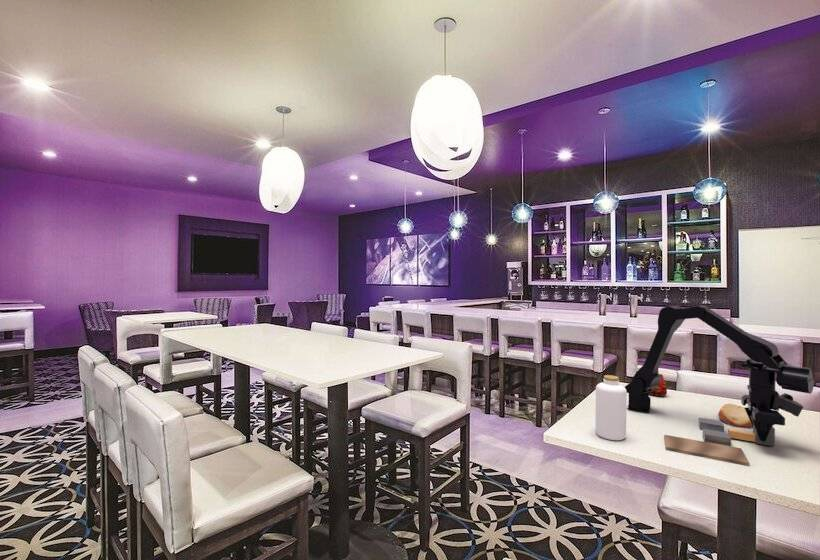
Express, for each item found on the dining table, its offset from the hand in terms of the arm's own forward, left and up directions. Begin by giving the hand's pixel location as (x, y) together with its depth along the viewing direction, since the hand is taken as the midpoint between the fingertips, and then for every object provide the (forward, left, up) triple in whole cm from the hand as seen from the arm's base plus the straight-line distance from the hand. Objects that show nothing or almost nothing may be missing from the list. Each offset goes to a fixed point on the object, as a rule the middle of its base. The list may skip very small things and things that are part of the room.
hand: (760, 438), depth 115 cm
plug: (-2, 0, -1) cm, 3 cm away
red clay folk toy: (-25, +39, -2) cm, 46 cm away
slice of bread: (-2, +23, -2) cm, 23 cm away
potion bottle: (-38, -17, -2) cm, 42 cm away
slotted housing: (-11, 0, -2) cm, 11 cm away
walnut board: (-15, -14, -2) cm, 21 cm away
